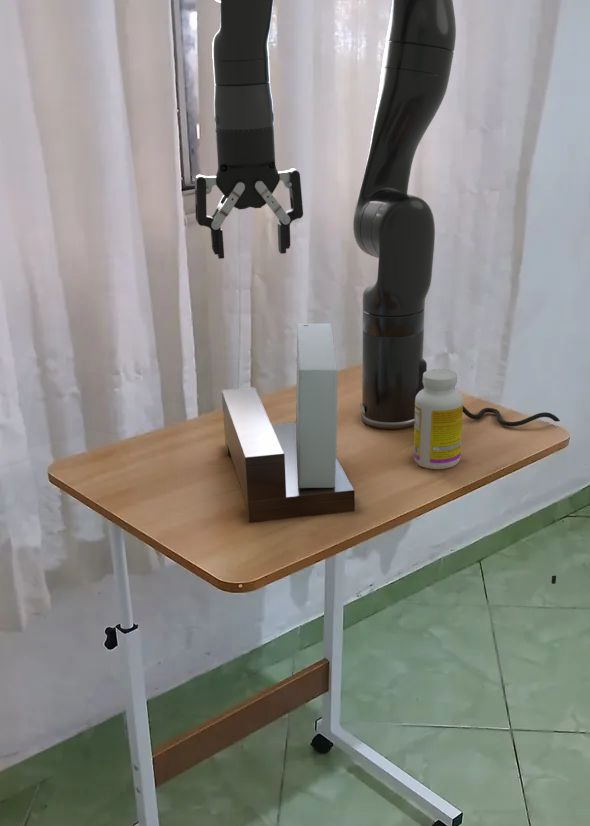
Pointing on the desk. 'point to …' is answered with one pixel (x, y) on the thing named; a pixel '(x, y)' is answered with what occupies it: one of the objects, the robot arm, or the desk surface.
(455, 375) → the supplement bottle
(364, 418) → the robot arm
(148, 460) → the desk surface
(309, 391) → the skincare box
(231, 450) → the metal step block
